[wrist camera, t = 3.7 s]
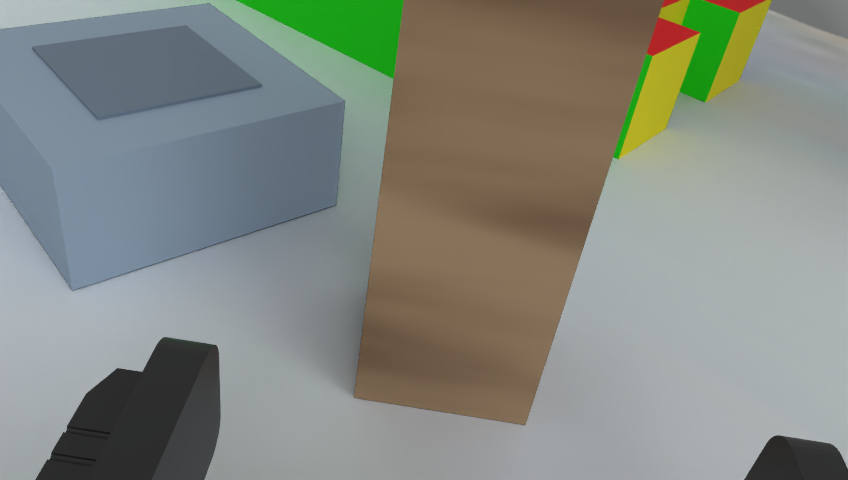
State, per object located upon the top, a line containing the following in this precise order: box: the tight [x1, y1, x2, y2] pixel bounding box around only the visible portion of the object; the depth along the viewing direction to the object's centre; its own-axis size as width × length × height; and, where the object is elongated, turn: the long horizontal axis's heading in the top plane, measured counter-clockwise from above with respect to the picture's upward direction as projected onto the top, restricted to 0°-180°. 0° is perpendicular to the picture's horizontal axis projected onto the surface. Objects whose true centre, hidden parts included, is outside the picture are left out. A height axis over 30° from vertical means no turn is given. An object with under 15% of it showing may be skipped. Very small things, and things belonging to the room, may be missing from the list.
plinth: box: [0, 3, 345, 290], centre depth 25 cm, size 9×9×4 cm
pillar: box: [354, 0, 664, 425], centre depth 18 cm, size 4×4×12 cm
